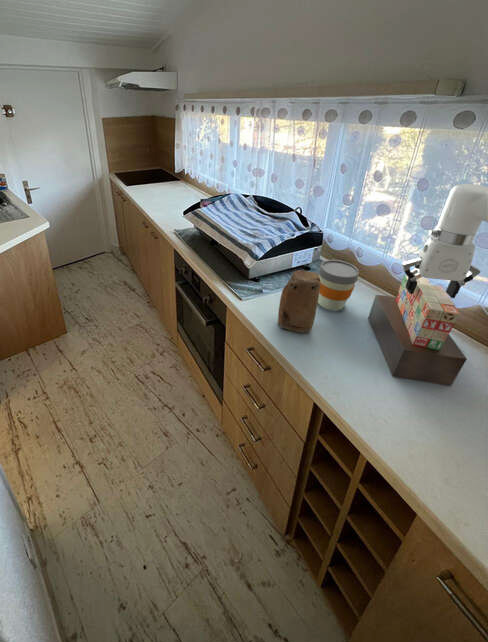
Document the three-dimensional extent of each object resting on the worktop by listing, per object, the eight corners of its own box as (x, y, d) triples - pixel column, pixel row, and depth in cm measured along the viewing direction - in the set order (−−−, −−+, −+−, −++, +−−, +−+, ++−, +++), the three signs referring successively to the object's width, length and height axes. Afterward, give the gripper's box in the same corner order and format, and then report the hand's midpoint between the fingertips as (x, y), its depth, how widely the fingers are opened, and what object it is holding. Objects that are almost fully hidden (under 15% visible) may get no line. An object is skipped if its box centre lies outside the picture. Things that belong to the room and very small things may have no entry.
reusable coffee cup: (327, 289, 120) (335, 256, 113) (356, 306, 111) (367, 271, 104) (305, 299, 115) (312, 265, 108) (334, 318, 105) (343, 281, 98)
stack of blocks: (394, 299, 98) (407, 266, 92) (417, 303, 96) (431, 269, 90) (412, 345, 80) (429, 307, 74) (441, 351, 78) (460, 313, 72)
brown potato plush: (309, 321, 104) (320, 271, 95) (311, 336, 98) (324, 284, 88) (276, 316, 107) (284, 267, 97) (277, 330, 100) (285, 279, 91)
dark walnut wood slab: (413, 324, 102) (424, 300, 97) (451, 386, 81) (467, 358, 76) (367, 318, 105) (375, 294, 100) (392, 376, 84) (404, 349, 79)
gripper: (419, 239, 74) (398, 297, 82) (505, 245, 70) (474, 305, 78) (407, 227, 80) (389, 282, 88) (485, 232, 76) (458, 289, 84)
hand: (429, 293), depth 83 cm, fingers open, 9 cm apart
